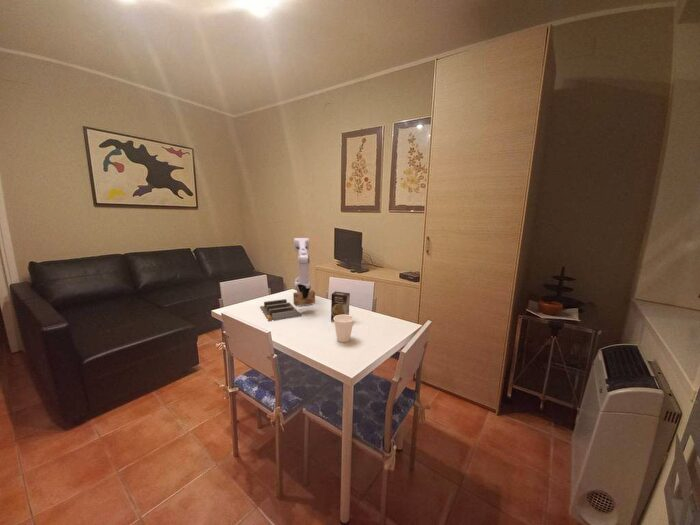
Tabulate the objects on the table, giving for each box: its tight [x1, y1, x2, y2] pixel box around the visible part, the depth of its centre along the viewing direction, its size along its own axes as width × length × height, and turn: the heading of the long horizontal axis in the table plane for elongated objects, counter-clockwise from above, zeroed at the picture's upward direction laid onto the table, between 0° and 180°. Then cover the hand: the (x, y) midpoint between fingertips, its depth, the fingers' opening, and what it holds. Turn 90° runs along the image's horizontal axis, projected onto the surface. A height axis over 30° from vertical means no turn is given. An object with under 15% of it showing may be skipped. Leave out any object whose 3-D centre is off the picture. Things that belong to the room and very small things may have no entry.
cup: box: [333, 314, 355, 343], centre depth 133 cm, size 10×10×11 cm
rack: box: [259, 298, 302, 322], centre depth 168 cm, size 19×25×3 cm
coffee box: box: [330, 291, 351, 322], centre depth 156 cm, size 9×6×16 cm
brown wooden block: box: [292, 289, 316, 307], centre depth 166 cm, size 12×4×7 cm, turn 119°
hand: (304, 297), depth 166 cm, fingers closed on brown wooden block, 4 cm apart
